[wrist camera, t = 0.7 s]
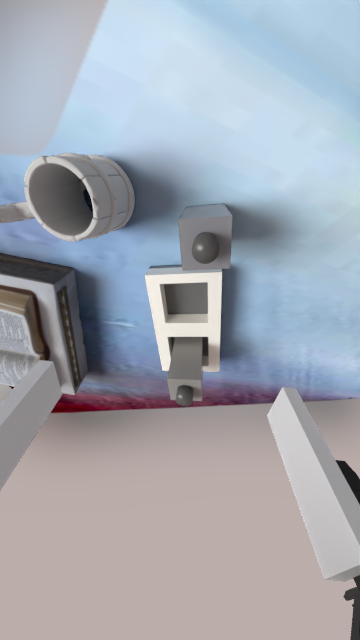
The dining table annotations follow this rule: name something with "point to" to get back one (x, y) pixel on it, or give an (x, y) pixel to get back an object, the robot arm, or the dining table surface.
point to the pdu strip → (186, 310)
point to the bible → (40, 321)
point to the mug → (74, 196)
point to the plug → (205, 237)
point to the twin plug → (186, 370)
